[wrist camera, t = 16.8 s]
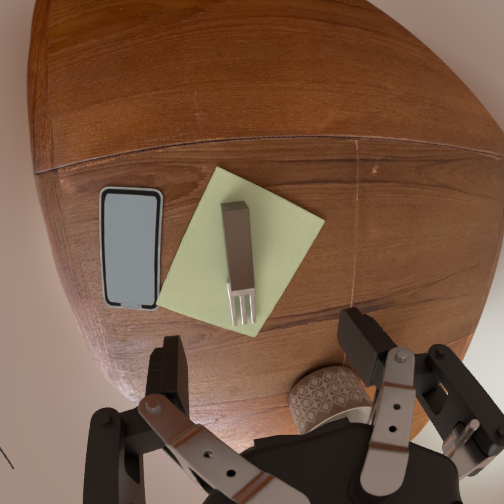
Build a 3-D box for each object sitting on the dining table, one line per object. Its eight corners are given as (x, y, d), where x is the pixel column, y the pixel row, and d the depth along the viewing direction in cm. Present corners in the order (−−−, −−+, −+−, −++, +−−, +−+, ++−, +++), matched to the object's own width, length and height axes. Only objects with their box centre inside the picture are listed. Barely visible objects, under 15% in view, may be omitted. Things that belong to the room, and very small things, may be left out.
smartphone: (164, 189, 30) (159, 311, 35) (164, 188, 30) (160, 307, 35) (99, 186, 28) (104, 306, 33) (101, 185, 29) (105, 302, 34)
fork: (217, 203, 31) (219, 211, 28) (247, 200, 31) (252, 207, 28) (231, 321, 37) (234, 337, 34) (255, 318, 37) (260, 333, 34)
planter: (333, 407, 50) (352, 447, 41) (275, 408, 47) (289, 455, 37) (365, 362, 46) (392, 403, 37) (303, 359, 43) (326, 409, 33)
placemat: (254, 335, 39) (255, 337, 39) (156, 302, 35) (155, 304, 34) (323, 219, 34) (325, 220, 34) (216, 165, 30) (217, 166, 29)
